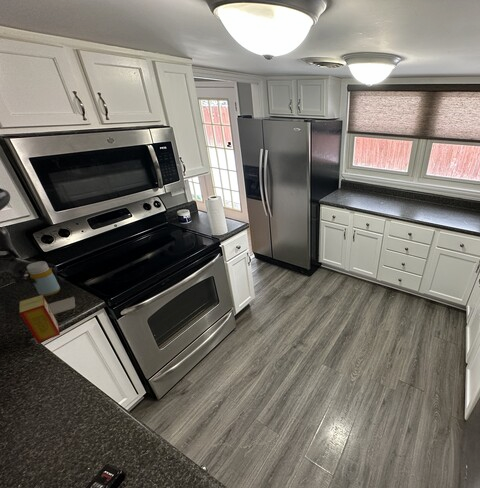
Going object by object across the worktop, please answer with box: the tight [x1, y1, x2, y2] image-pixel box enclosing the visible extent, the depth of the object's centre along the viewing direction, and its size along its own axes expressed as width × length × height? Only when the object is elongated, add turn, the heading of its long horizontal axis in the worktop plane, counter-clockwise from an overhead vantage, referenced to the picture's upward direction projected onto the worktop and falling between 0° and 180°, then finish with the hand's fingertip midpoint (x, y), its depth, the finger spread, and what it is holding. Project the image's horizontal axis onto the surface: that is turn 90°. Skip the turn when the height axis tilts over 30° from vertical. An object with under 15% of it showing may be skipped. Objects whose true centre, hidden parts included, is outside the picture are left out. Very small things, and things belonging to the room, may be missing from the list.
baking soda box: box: [19, 294, 61, 344], centre depth 107 cm, size 10×6×16 cm
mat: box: [47, 296, 76, 316], centre depth 125 cm, size 12×11×1 cm
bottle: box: [27, 260, 61, 297], centre depth 119 cm, size 7×7×15 cm
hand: (45, 277), depth 118 cm, fingers closed on bottle, 7 cm apart
